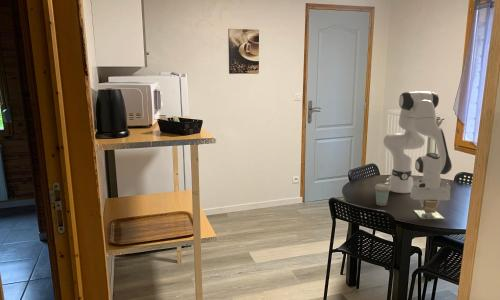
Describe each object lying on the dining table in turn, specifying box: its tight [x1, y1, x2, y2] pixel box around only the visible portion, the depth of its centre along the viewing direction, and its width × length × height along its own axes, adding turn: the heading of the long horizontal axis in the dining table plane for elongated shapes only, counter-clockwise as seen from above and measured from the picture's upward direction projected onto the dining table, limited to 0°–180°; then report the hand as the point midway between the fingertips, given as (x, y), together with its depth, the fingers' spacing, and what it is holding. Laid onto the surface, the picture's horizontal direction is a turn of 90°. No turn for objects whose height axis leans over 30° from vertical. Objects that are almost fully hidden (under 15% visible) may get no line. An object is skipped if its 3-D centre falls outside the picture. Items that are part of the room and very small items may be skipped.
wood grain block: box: [421, 200, 437, 213], centre depth 207 cm, size 5×5×7 cm
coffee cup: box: [374, 182, 390, 207], centre depth 225 cm, size 8×8×12 cm
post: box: [413, 209, 445, 220], centre depth 208 cm, size 12×12×7 cm
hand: (429, 207), depth 207 cm, fingers closed on wood grain block, 5 cm apart
